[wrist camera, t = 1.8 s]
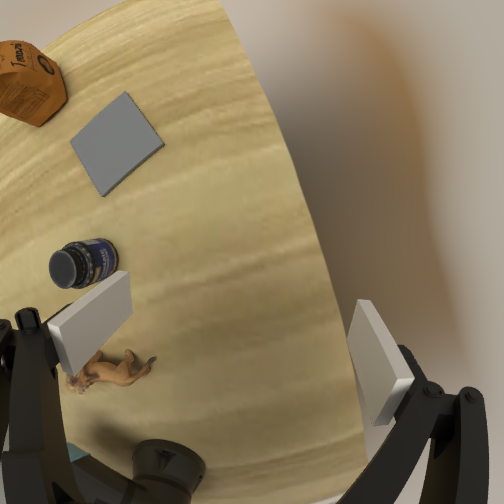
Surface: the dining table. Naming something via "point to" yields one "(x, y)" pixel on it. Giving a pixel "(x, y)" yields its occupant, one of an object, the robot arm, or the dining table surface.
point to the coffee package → (29, 83)
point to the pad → (115, 143)
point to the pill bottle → (83, 263)
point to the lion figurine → (105, 373)
